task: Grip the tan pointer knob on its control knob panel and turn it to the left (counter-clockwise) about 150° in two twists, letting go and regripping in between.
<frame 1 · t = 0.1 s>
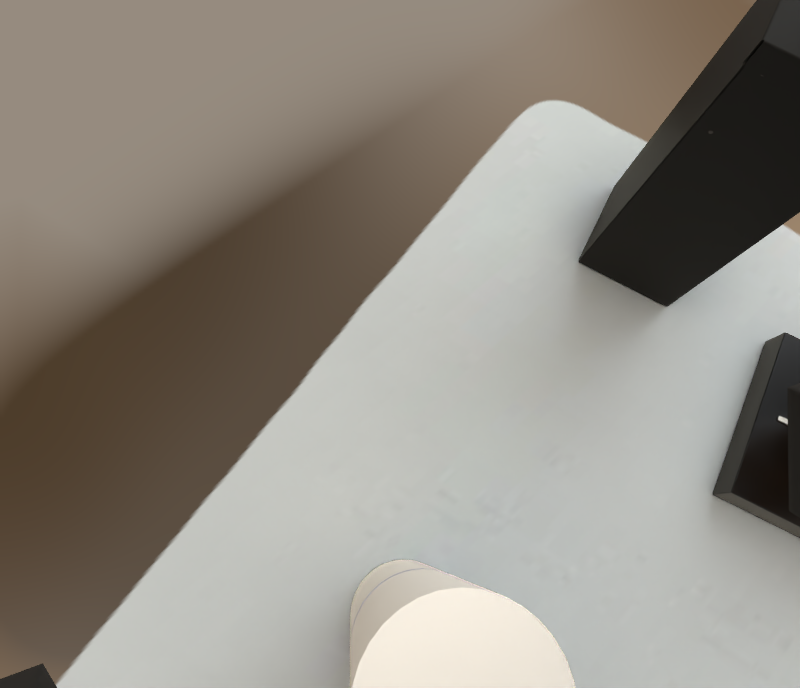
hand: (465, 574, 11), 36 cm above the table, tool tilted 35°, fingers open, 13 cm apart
tissue box: (638, 246, 54), on the table
cylindrical container: (403, 615, 45), on the table
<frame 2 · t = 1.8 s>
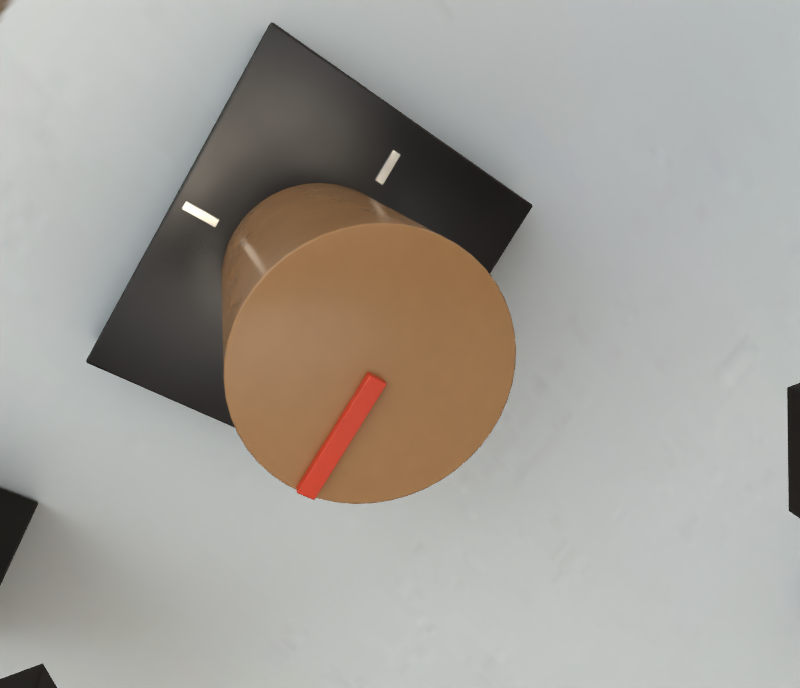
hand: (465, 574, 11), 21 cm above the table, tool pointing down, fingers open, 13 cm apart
control knob panel: (312, 268, 30), on the table
tan pointer knob: (343, 317, 23), point 8 cm above the table, hinge at 0.0°
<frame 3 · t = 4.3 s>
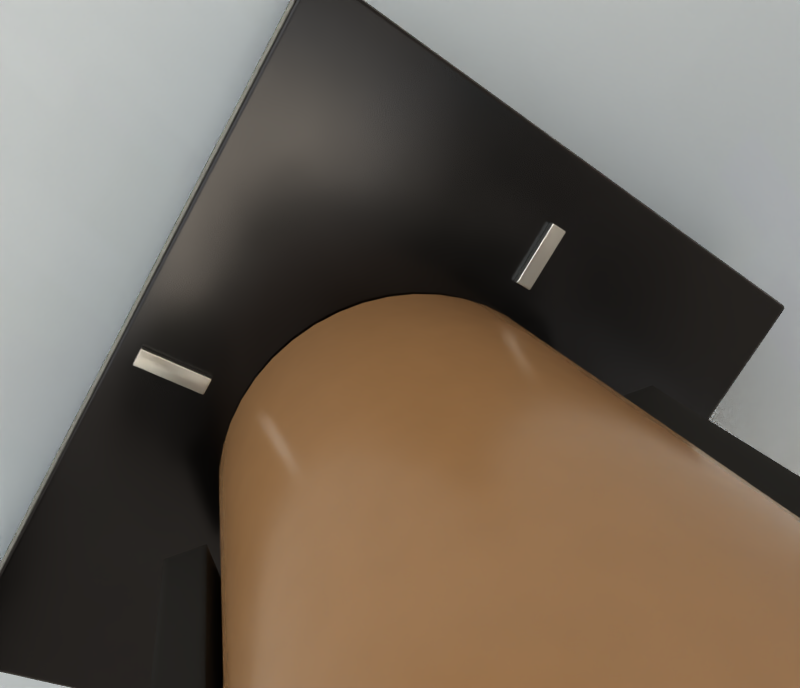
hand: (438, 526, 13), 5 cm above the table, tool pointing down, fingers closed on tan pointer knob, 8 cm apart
control knob panel: (380, 421, 17), on the table
tan pointer knob: (513, 663, 10), point 8 cm above the table, hinge at -0.1°, touching gripper
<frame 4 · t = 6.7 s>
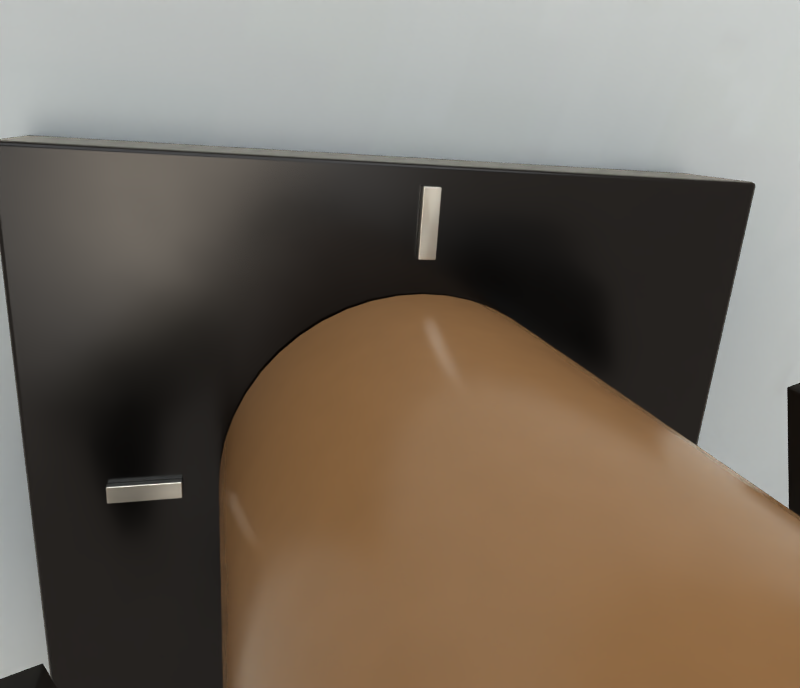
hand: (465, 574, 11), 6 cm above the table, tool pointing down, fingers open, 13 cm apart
control knob panel: (381, 422, 17), on the table
tan pointer knob: (515, 666, 9), point 8 cm above the table, hinge at 90.2°
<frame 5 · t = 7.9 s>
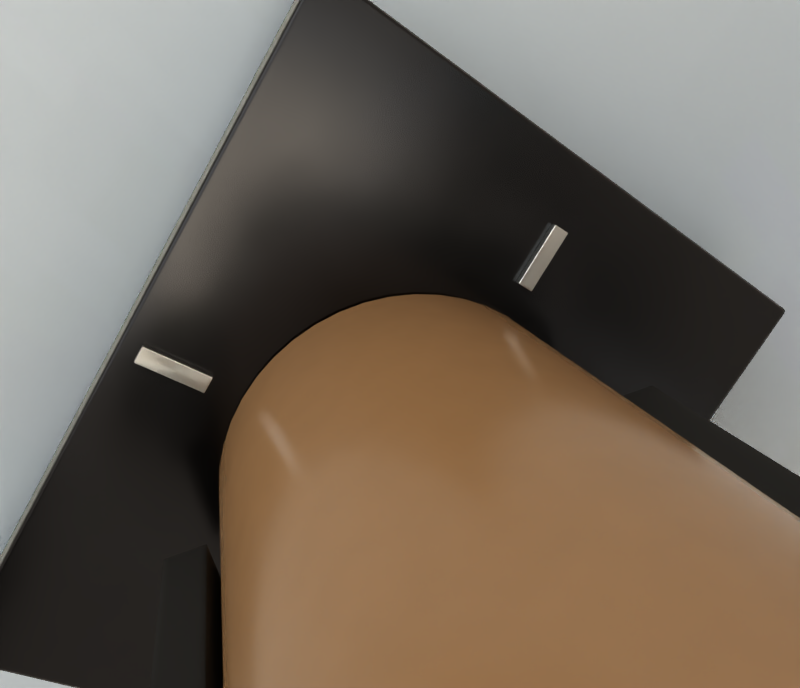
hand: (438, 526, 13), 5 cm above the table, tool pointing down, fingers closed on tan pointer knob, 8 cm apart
control knob panel: (380, 421, 17), on the table
tan pointer knob: (513, 664, 10), point 8 cm above the table, hinge at 90.1°, touching gripper
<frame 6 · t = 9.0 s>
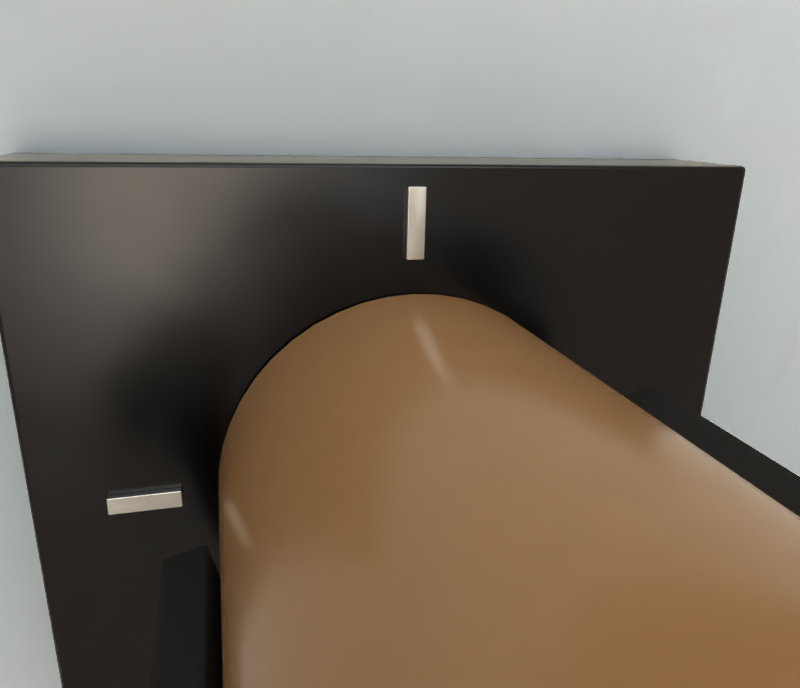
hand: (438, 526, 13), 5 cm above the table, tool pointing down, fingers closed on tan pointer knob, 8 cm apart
control knob panel: (380, 421, 17), on the table
tan pointer knob: (513, 664, 10), point 8 cm above the table, hinge at 150.0°, touching gripper
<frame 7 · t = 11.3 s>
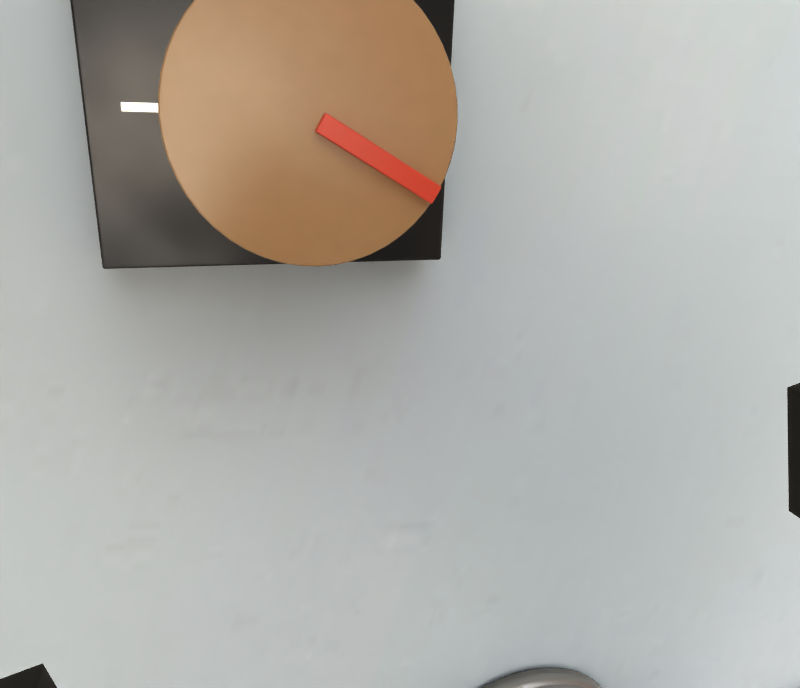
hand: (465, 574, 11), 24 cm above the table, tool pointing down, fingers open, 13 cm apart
control knob panel: (273, 110, 30), on the table
tan pointer knob: (293, 114, 23), point 8 cm above the table, hinge at 150.0°
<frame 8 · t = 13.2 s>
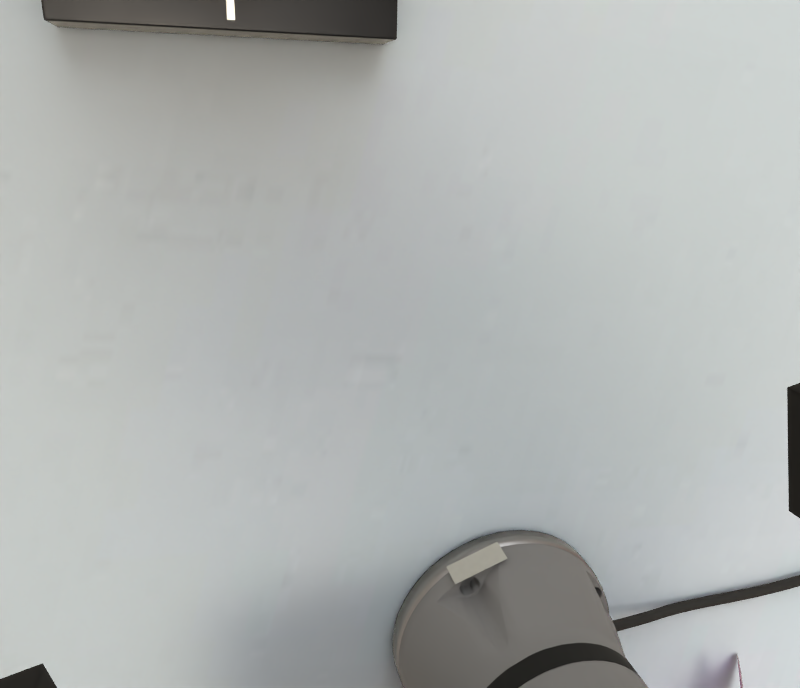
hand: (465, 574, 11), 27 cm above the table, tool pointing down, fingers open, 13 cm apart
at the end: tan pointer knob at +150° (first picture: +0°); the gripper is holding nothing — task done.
